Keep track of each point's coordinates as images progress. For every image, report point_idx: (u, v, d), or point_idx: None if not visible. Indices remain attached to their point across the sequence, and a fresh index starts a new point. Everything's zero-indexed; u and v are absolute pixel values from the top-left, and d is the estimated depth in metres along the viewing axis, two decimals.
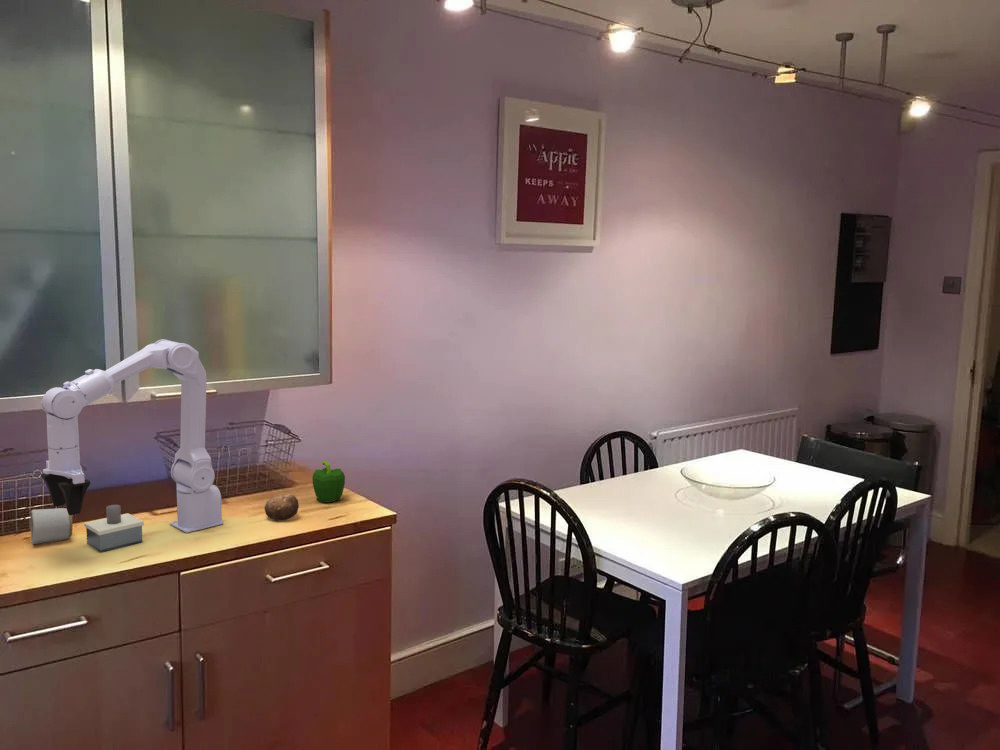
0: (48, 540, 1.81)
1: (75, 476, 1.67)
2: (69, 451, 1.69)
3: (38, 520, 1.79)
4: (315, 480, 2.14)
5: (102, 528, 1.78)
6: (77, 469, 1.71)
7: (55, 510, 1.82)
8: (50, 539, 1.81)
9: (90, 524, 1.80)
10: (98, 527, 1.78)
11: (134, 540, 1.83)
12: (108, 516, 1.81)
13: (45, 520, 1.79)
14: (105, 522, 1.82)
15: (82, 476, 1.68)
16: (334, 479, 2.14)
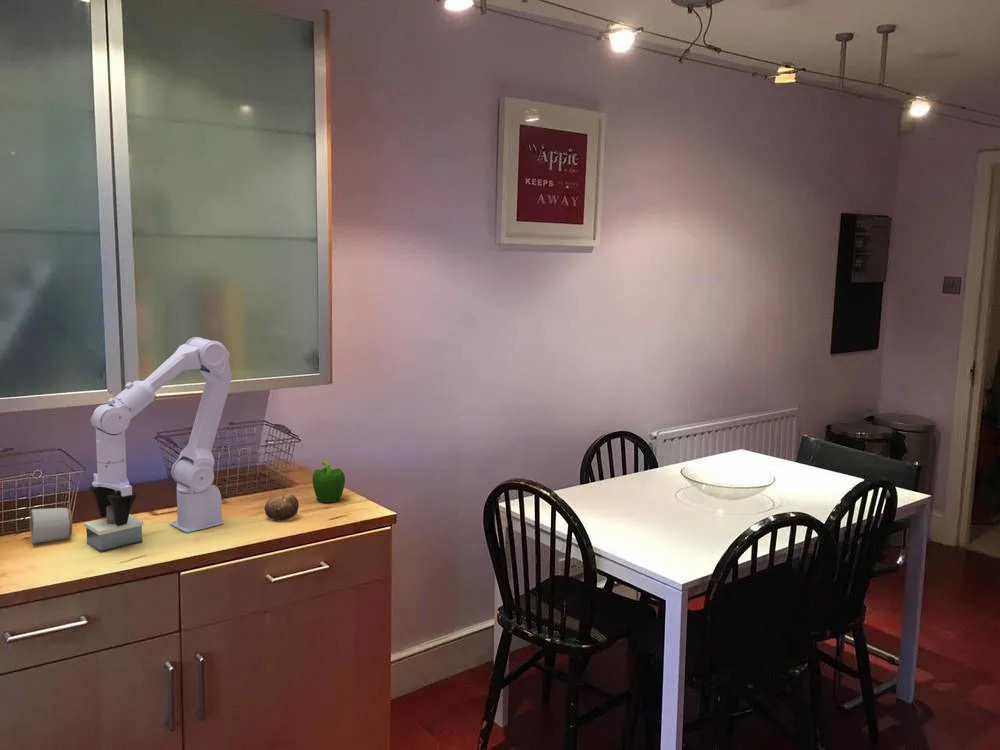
0: (48, 540, 1.81)
1: (123, 489, 1.75)
2: (117, 465, 1.78)
3: (38, 520, 1.79)
4: (315, 480, 2.14)
5: (102, 528, 1.78)
6: (124, 482, 1.80)
7: (55, 510, 1.82)
8: (50, 539, 1.81)
9: (90, 524, 1.80)
10: (98, 527, 1.78)
11: (134, 540, 1.83)
12: (108, 516, 1.81)
13: (45, 520, 1.80)
14: (105, 522, 1.82)
15: (130, 489, 1.76)
16: (334, 479, 2.14)
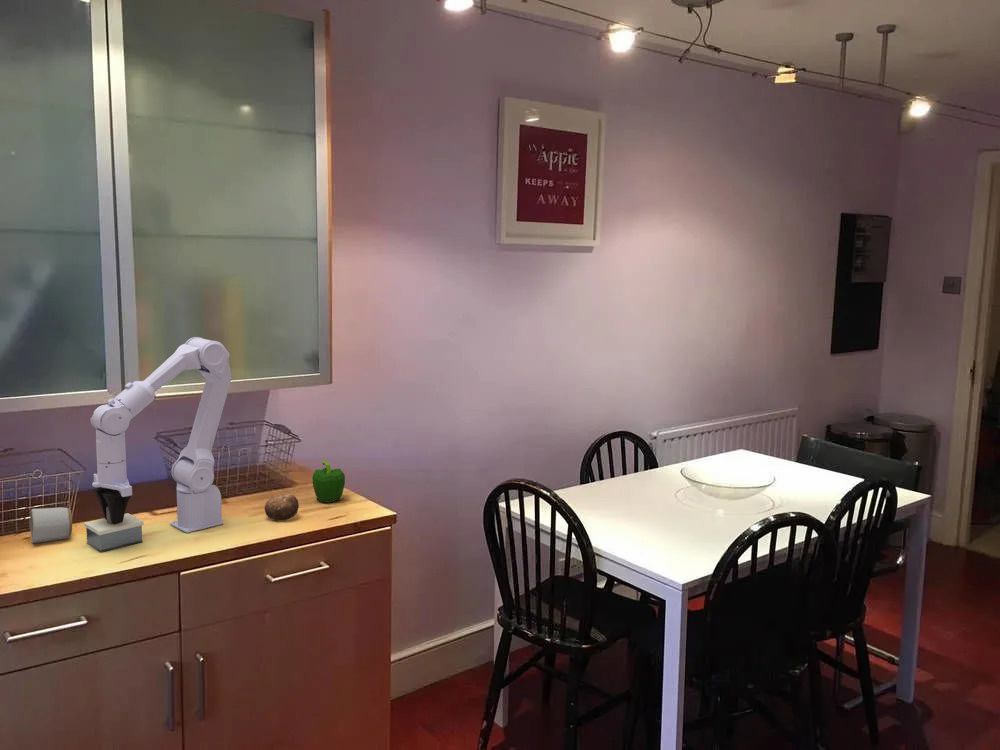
0: (48, 539, 1.81)
1: (123, 489, 1.75)
2: (117, 465, 1.78)
3: (38, 519, 1.79)
4: (315, 480, 2.14)
5: (102, 528, 1.78)
6: (124, 482, 1.80)
7: (55, 509, 1.83)
8: (50, 538, 1.81)
9: (90, 524, 1.80)
10: (98, 527, 1.78)
11: (134, 540, 1.83)
12: (108, 516, 1.81)
13: (45, 519, 1.80)
14: (105, 522, 1.82)
15: (130, 489, 1.76)
16: (334, 479, 2.14)
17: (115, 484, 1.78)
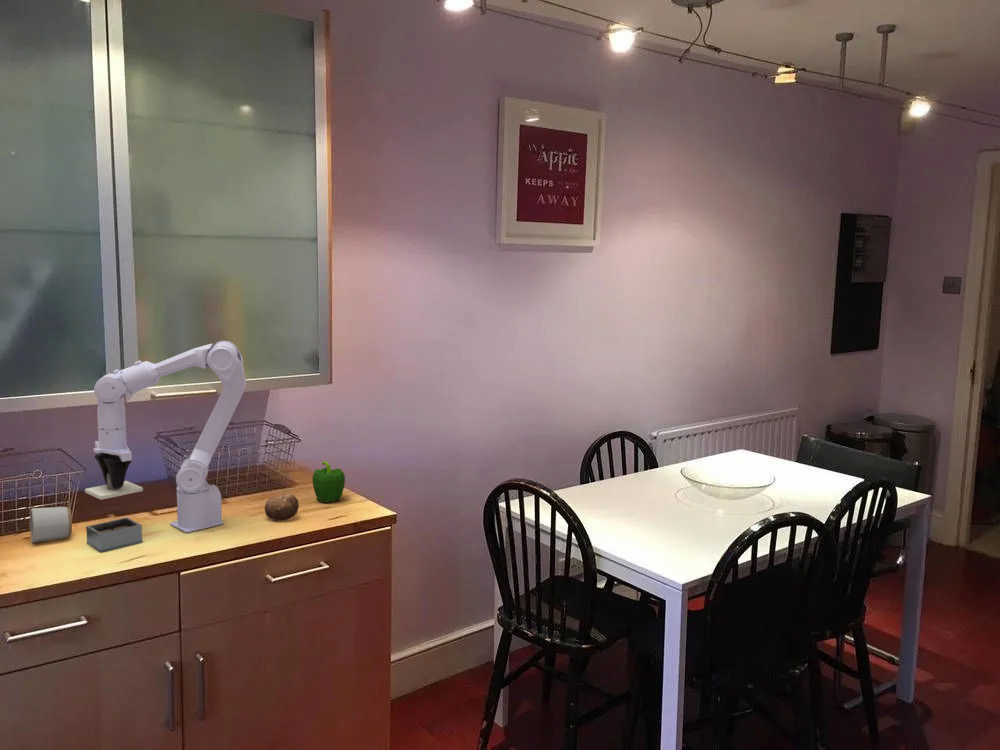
0: (48, 538, 1.82)
1: (124, 454, 1.83)
2: (118, 432, 1.86)
3: (38, 519, 1.79)
4: (315, 480, 2.14)
5: (103, 493, 1.86)
6: (124, 448, 1.88)
7: (55, 509, 1.83)
8: (50, 538, 1.82)
9: (91, 490, 1.88)
10: (99, 492, 1.86)
11: (134, 540, 1.83)
12: (109, 482, 1.88)
13: (45, 519, 1.80)
14: (105, 488, 1.89)
15: (130, 454, 1.84)
16: (334, 479, 2.14)
17: (115, 450, 1.86)
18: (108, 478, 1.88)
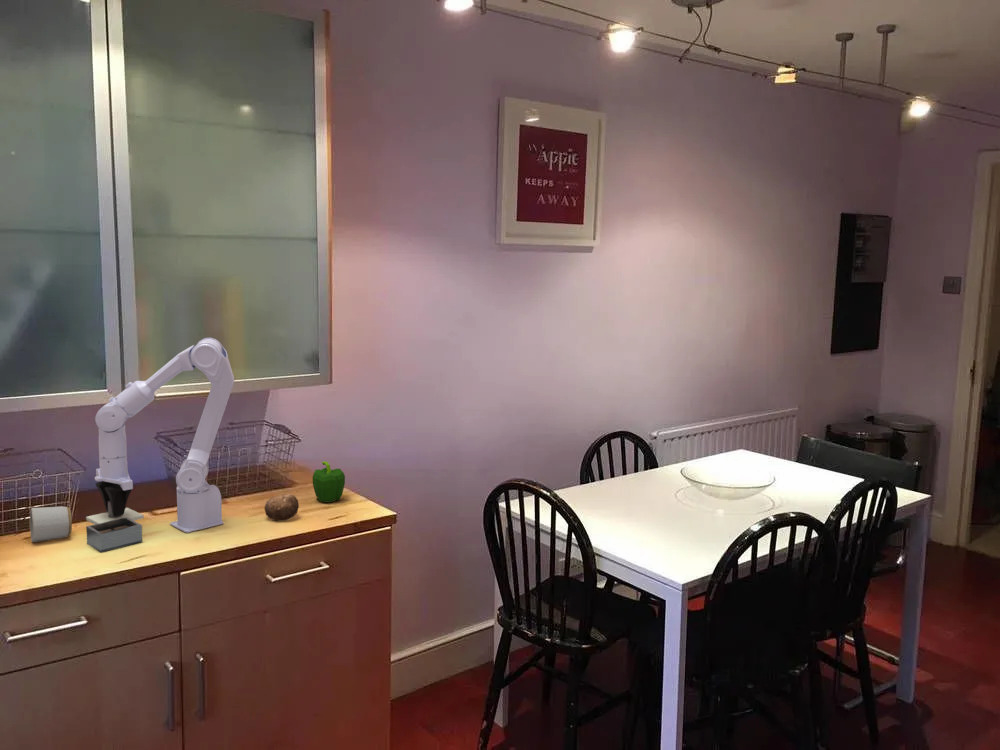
0: (47, 538, 1.82)
1: (125, 483, 1.84)
2: (119, 461, 1.87)
3: (38, 518, 1.80)
4: (315, 480, 2.14)
5: (104, 521, 1.87)
6: (125, 477, 1.89)
7: (54, 508, 1.83)
8: (49, 537, 1.82)
9: (92, 518, 1.89)
10: (100, 521, 1.87)
11: (134, 540, 1.83)
12: (109, 510, 1.89)
13: (44, 518, 1.80)
14: (106, 516, 1.90)
15: (131, 483, 1.85)
16: (334, 479, 2.14)
17: (116, 478, 1.87)
18: (109, 506, 1.89)
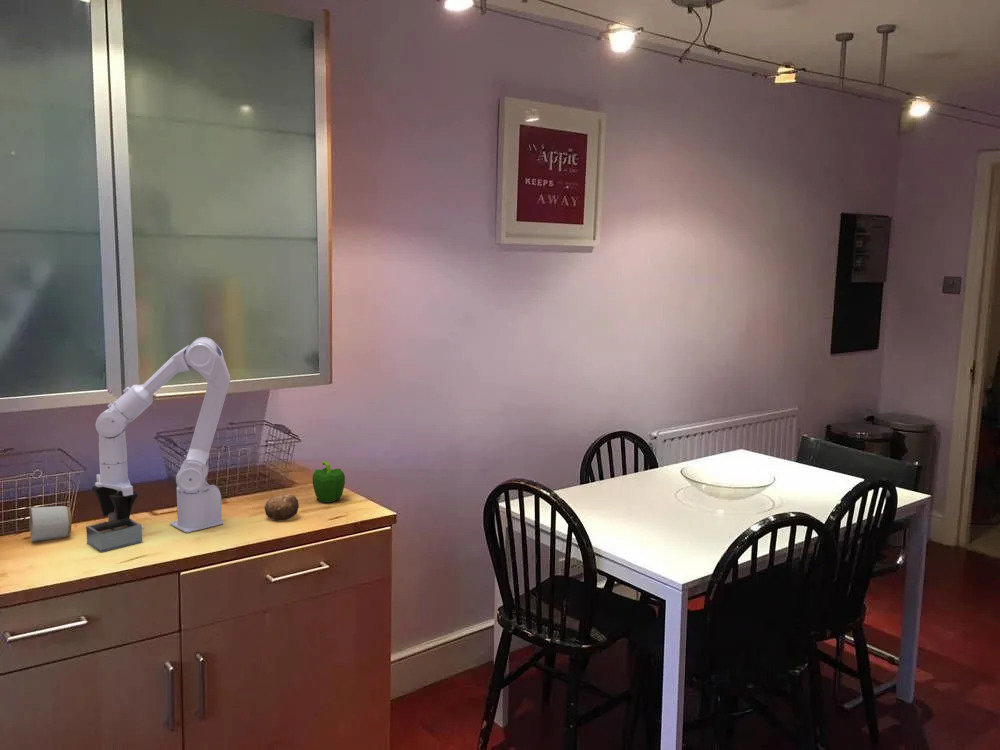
0: (47, 538, 1.82)
1: (125, 489, 1.84)
2: (119, 466, 1.87)
3: (37, 518, 1.80)
4: (315, 480, 2.14)
5: None
6: (125, 482, 1.89)
7: (54, 508, 1.83)
8: (49, 537, 1.82)
9: None
10: None
11: (134, 540, 1.83)
12: None
13: (44, 518, 1.81)
14: None
15: (131, 489, 1.85)
16: (334, 479, 2.14)
17: (117, 484, 1.87)
18: (110, 519, 1.90)
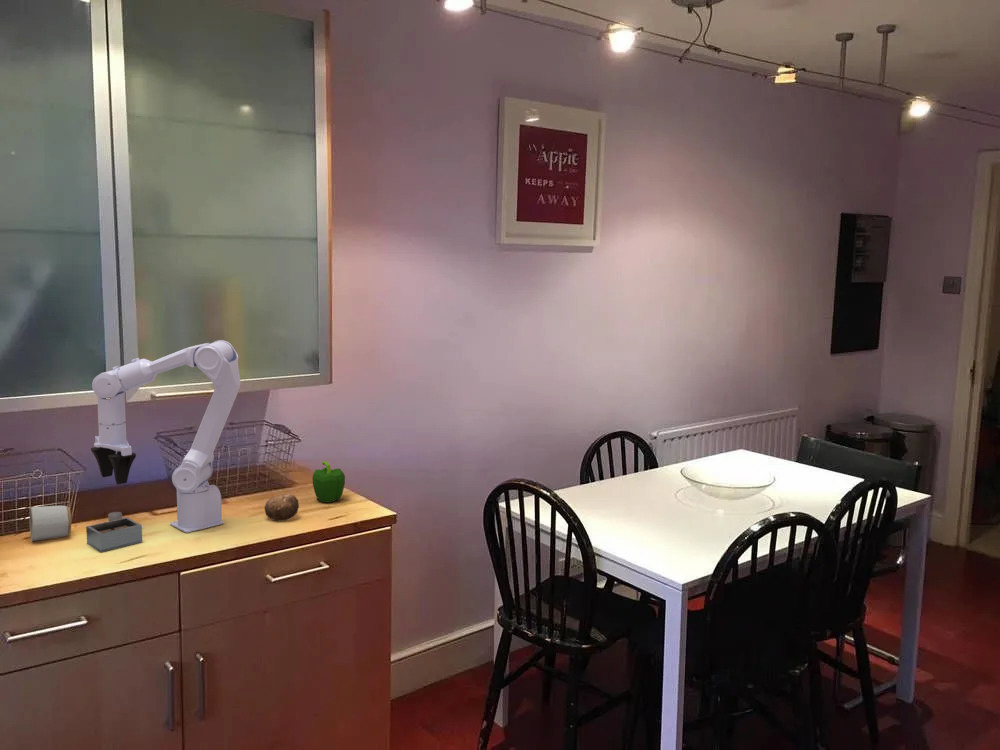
0: (47, 537, 1.82)
1: (124, 449, 1.87)
2: (118, 427, 1.90)
3: (37, 517, 1.80)
4: (315, 480, 2.14)
5: None
6: (124, 443, 1.92)
7: (54, 507, 1.84)
8: (49, 536, 1.82)
9: None
10: None
11: (134, 540, 1.83)
12: None
13: (44, 517, 1.81)
14: None
15: (129, 449, 1.88)
16: (334, 479, 2.14)
17: (115, 444, 1.90)
18: (110, 519, 1.90)
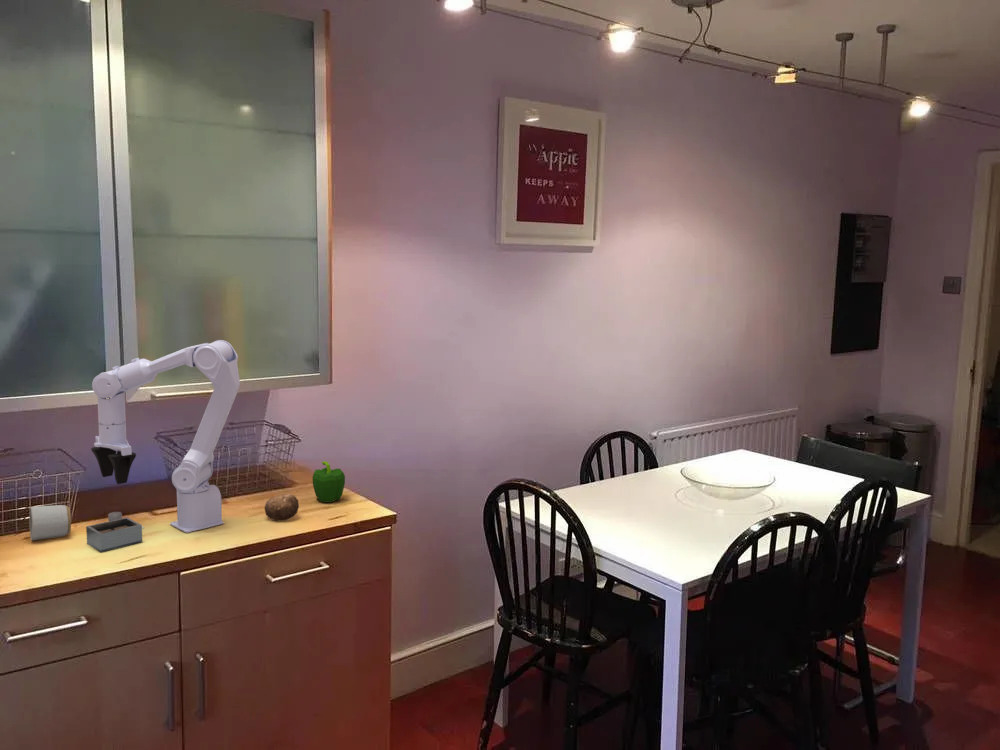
0: (47, 537, 1.83)
1: (123, 449, 1.88)
2: (118, 427, 1.90)
3: (37, 517, 1.81)
4: (315, 480, 2.14)
5: None
6: (124, 443, 1.92)
7: (54, 507, 1.84)
8: (49, 536, 1.83)
9: None
10: None
11: (134, 540, 1.83)
12: None
13: (44, 517, 1.81)
14: None
15: (129, 449, 1.89)
16: (334, 479, 2.14)
17: (115, 444, 1.90)
18: (110, 519, 1.90)
